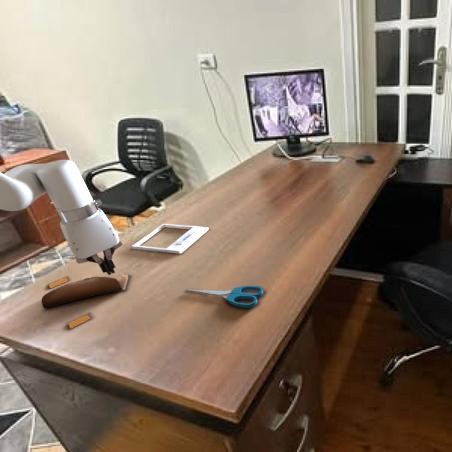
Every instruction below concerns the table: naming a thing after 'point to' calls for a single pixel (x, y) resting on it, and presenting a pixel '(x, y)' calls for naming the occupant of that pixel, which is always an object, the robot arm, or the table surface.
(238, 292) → the scissors
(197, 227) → the photo frame
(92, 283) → the sunglasses case
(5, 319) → the table surface
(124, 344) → the table surface
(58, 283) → the tape marks
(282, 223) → the table surface
